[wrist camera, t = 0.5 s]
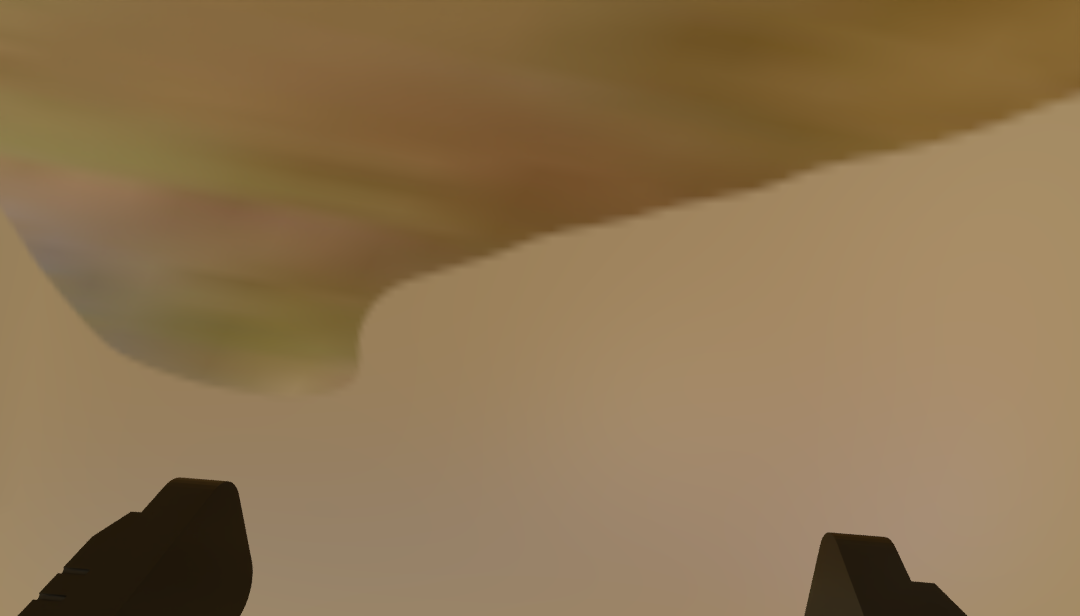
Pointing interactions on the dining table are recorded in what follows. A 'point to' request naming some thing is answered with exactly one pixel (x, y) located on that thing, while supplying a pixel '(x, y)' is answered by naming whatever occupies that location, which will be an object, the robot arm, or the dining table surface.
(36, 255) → the dining table surface
